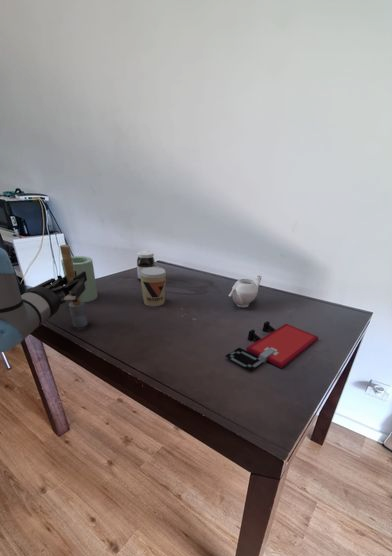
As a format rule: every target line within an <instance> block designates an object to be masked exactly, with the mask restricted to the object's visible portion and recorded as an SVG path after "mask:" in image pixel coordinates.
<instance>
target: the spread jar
mask: <svg viewBox="0 0 392 556" xmlns="http://www.w3.org/2000/svg"><path fill="white" fill-rule="evenodd" d="M147 267H158V268H161V267H160V266H158V265H157V266H156V259H155V255H154V252H153V251H151V250H140V251H138V252H137V259H136V270H137V279H138V280H139V281H140V282H141V277H140V271H141V269H143V268H147Z"/></svg>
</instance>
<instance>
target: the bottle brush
mask: <svg viewBox="0 0 392 556" xmlns="http://www.w3.org/2000/svg"><path fill="white" fill-rule="evenodd" d="M59 248H60V253H61V254H60V255H61V260H62V259H63V263H64V268H65V273H66V278H67V282H68V283H70V282H72V281H73V278H75V272H74V267H73V262H72V257H73V256H72V253H71V246H70V245H69V244H61V245H59ZM77 300H78V302H73V301H71V300H70V302H69V303H68V308H69V313H70V318H71V322H72V326H73V327H74V328H85V327H86V326H88V324H89V322H88V317H87V312H86V307H85V302H82V301H80V298H78V299H77Z"/></svg>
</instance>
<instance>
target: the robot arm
mask: <svg viewBox="0 0 392 556" xmlns="http://www.w3.org/2000/svg"><path fill="white" fill-rule="evenodd" d="M74 272H75V278H73V281H72V282H70V283H68V282H67V278H66V276H64V275H57V276H56V278H57V279H56V278H55V277H53V278H49V279H47V280H45V281H43V282H41V283H40V284H37V285H34V286H33V287H29V288H27V289H26V292H25V293H23V294H21V291H20V287H19V283H18V280H17V277H16V270H15V269H14V267H13V264H12V261H11V259H10V256H9V254H8V252H7V251H6V249H4V248H3V247H0V353H6V352H8V351H11V349H13V348H14V347H16V346H17V345H19V344H22V342H23V341H24V340H25V339H26V338H28V337H29V336H30V335H31V334H32V333H33V332H34V331H35V330H37V329H38V328H39V327H40V326H42V325H43V324H44V323H45V322H47V320H49V319H50V318H52V317H53V316H54V315H55V314H56V313H57V312H58V311H59V309H60V307H61V305H63V304H65V303H66V302H67V301H70V302H71V301H73V302H78V300H77V299H78V298H79V296H80V295H81V294H82V293H83V292H84V291H85V281H87V277H86V272H84V271H83V272H82V273H80V274H79V275H76V271H74Z"/></svg>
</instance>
